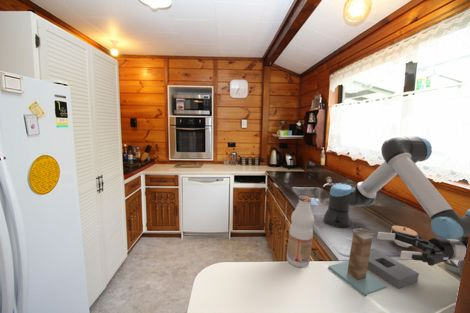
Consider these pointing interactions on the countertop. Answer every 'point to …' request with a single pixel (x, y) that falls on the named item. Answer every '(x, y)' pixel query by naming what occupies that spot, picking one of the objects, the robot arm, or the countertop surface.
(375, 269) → the block
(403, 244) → the lidded jar
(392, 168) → the robot arm
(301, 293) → the countertop surface
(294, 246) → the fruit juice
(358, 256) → the walnut plug
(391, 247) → the countertop surface
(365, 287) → the pad
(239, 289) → the countertop surface
